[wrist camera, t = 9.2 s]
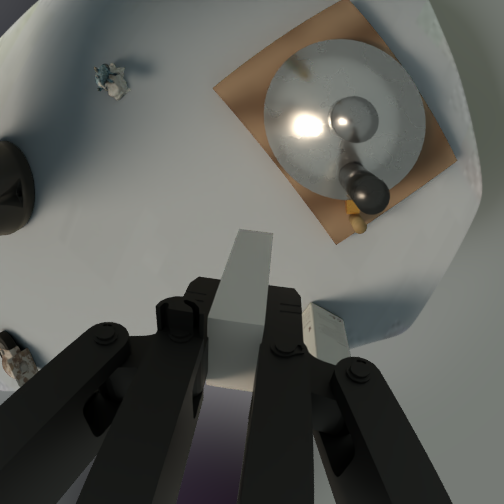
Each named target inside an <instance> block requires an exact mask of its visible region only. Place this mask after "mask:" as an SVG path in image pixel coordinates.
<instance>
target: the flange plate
mask: <svg viewBox="0 0 504 504" xmlns="http://www.w3.org/2000/svg"><path fill="white" fill-rule="evenodd" d="M264 125H265V131H266V136H267V139H268V142H269V145H270V147H271V149H272V151H273V154H274V155H275V157H276V159H277V160H278V162H279V163H280V165H281V166H282V167H283V168H284V170H285V171H286V172H287V173H288V174H289V175H290V176H291V177H292V178H293V179H294V180H295V181H297V182H298V183H299V184H301V185H302V186H303V187H305V188H307V189H309V190H311V191H312V192H315V193H317V194H319V195H322V196H325V197H329V198H332V199H339V200H345V206H346V214H360V211H362V212H363V213H365V214H369V215H375V214H378V213H380V212H382V211H383V210H384V209H385V208H386V207H387V205H388V203H389V200H390V191H389V189H391V188H392V187H394V186H395V185H396V184H398V183H399V182H400V181H401V180H402V179H403V178H404V177H405V176H406V175H407V174H408V173H409V172H410V170H411V169H412V168H413V166H414V164H415V163H416V161H417V159H418V157H419V155H420V152H421V150H422V146H423V143H424V137H425V129H426V119H425V110H424V106H423V102H422V99H421V96H420V93H419V91H418V89H417V87H416V85H415V83H414V81H413V80H412V78H411V77H410V75H409V74H408V73H407V71H406V70H405V69H404V68H403V67H402V66H401V65H400V64H399V63H398V62H397V61H396V60H395V59H394V58H392V57H391V56H390V55H388V54H387V53H385V52H384V51H382V50H380V49H378V48H376V47H374V46H372V45H369V44H366V43H363V42H359V41H355V40H347V39H332V40H325V41H320V42H317V43H314V44H311V45H309V46H307V47H305V48H303V49H301V50H299V51H298V52H296V53H295V54H293V55H292V56H291V57H290V58H288V59H287V60H286V61H285V62H284V63H283V64H282V66H281V67H280V68H279V69H278V71H277V72H276V74H275V76H274V77H273V79H272V81H271V83H270V86H269V88H268V91H267V94H266V99H265V104H264Z"/></svg>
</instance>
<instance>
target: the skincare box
mask: <svg viewBox="0 0 504 504" xmlns="http://www.w3.org/2000/svg"><path fill="white" fill-rule="evenodd" d="M302 324H303V341H304V344H305V345H306V346H307V349H308V351H309V353H310V354H311V355H313V356H314V357H316V358H317V359H320V360H322V361H324V362H327V363H331V364H334V365H336V364H337V363H338V362H339V361H340V360H341V359H344V358H347V357H351V355H350V350H349V345H348V340H347V335H346V330H345V326H344V321H343V320H342V319H341V318H339V317H337V316H335V315H333V314H331V313H330V312H328V311H326V310H325V309H323V308H321V307H319V306H318V305H316V304H314V303H310V304H309V306H308V307H307V309H306V310H305V311H304V312H303V314H302Z"/></svg>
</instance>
